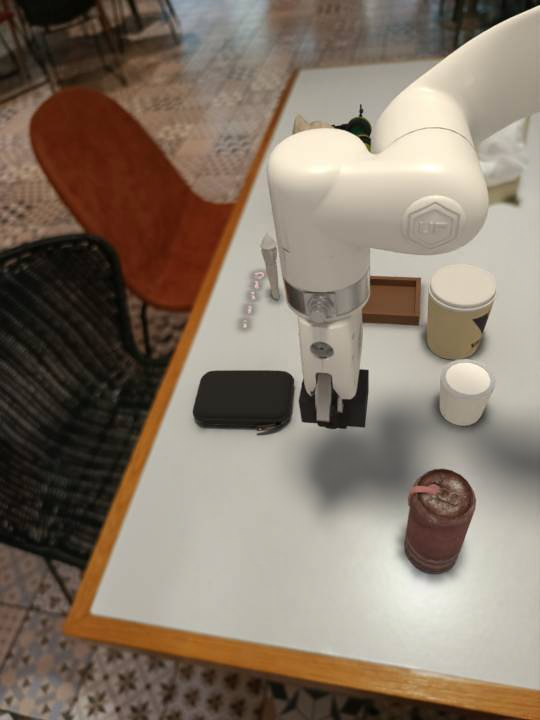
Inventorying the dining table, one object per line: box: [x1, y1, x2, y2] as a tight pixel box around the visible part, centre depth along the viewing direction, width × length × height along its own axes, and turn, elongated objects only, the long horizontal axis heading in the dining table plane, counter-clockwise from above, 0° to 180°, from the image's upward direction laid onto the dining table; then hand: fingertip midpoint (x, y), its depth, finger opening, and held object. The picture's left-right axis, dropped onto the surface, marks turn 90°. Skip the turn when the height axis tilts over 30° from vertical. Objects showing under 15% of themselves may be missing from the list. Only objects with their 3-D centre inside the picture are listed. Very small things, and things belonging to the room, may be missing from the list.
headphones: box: [330, 103, 373, 152], centre depth 121 cm, size 16×10×20 cm
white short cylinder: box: [439, 358, 497, 427], centre depth 71 cm, size 7×7×7 cm
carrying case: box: [192, 369, 295, 432], centre depth 78 cm, size 11×3×15 cm
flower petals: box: [242, 271, 265, 329], centre depth 95 cm, size 15×2×1 cm, turn 170°
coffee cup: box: [426, 263, 499, 361], centre depth 78 cm, size 9×9×12 cm
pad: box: [298, 368, 370, 429], centre depth 58 cm, size 7×5×4 cm
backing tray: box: [362, 275, 422, 326], centre depth 90 cm, size 18×10×2 cm, turn 78°
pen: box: [259, 233, 280, 301], centre depth 89 cm, size 2×3×14 cm
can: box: [404, 468, 477, 574], centre depth 57 cm, size 6×6×14 cm
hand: (335, 403), depth 59 cm, fingers closed on pad, 5 cm apart
